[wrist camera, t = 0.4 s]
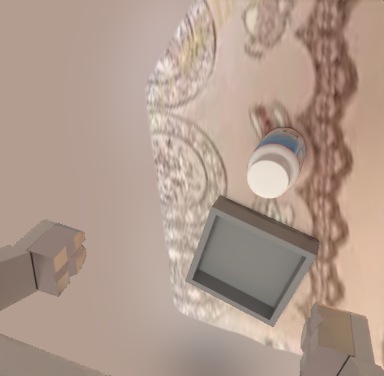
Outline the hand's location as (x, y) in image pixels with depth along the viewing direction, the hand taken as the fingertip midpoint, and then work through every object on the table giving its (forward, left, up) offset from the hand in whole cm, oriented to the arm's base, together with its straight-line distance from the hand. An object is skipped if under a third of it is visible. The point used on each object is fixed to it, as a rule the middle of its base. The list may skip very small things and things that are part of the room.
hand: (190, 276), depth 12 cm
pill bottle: (+8, 0, -38) cm, 39 cm away
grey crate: (+27, +2, -38) cm, 47 cm away
